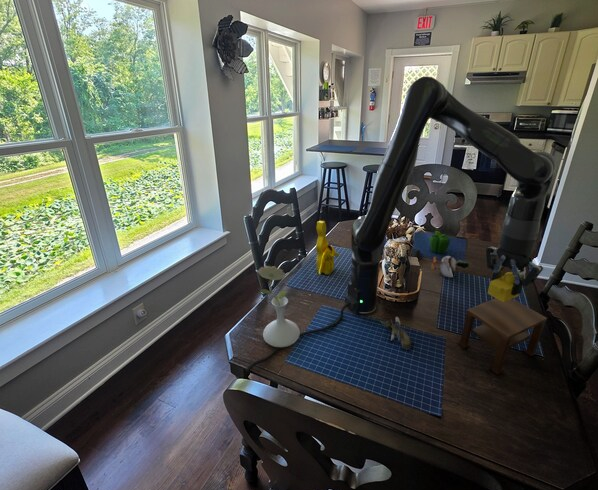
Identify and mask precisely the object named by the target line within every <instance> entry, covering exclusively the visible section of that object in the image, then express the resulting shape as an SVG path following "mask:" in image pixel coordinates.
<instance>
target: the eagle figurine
mask: <svg viewBox="0 0 598 490" xmlns="http://www.w3.org/2000/svg"><path fill="white" fill-rule="evenodd" d="M394 320H395V324H393V320H392V318H390V321H389V320H388V319H387V320H386V321H385V322H384V321H382V320H380V323H381V324H382V325H384V326H386V327H387V329H388V331H391V337H390V341H394V339H395V337H396V338H397V342H400V344H401V347H402V349H404V350H410V349H411V348H412V345H413V341H412V338H411V337H410V335H409V334H408V332H406V330H404V329H403V328H402V327H401V321H400V318H399V317H398V316H395V319H394Z"/></svg>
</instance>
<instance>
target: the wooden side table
mask: <svg viewBox="0 0 598 490" xmlns="http://www.w3.org/2000/svg"><path fill="white" fill-rule="evenodd" d="M474 320H477V321H479V322H480V323H482V324H481V325H479V326H477V327H474V328H473V326H474ZM547 320H548V317H546V316H545V315H542V314H540V313H539V312H537V311H535V310H533V309H532V308H530V307H528V306H526V305H524V304H523V303H521V302H519V301H517V300H515V299H514V298H512V299H510V300H508V301H506V302H502V301H500V300H498V299H496V298H495V297H494V298H493V299H490V300H488V301H485V302H482V303H480V304H478V305H475V306H473V307H470V308H468V309H466V315H465V317H464V323H463V327H462V330H461V336H460V341H459V344H458V345H459V346H460V347H461V348H462V349H465V348H467V347H469V343H470V339H471V334H473V335H474V336H476V337H477V338H479V339H480V340H482V341H483V342H484V343H485V344H486V345H488V346H490V347H491V348H492V349H494V350H495V351H496V354H495V356H494V360H493V363H492V367H491V372H493V373H494V374H495V375H499V374H501V373H502V370H503V367H504V364H505V361H506V357H507V354H508V350H509V349H511V348H513V347H515V346H517V345H519V344H520V343H522V342H525V341H527V340H528V339H529V341H528V344H527V347H526V350H525V354H527V355H528V356H530V357H533V356H534V355H536V351H537V348H538V346H539V343H540V340H541V338H542V335H543V331H544V330H545V326H546V323H547ZM531 329H532V331H531V334H530V333H529V332H527V331H529V330H531Z"/></svg>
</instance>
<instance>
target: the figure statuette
mask: <svg viewBox="0 0 598 490" xmlns="http://www.w3.org/2000/svg"><path fill="white" fill-rule="evenodd" d="M316 233H317V239H316V245H315V251H316V263H315V264H316V271H317V272H318V275H322V273H323V274H325V275H331V274H332V273H333V272H334V270H335V259H334V258H339V257H340V254H339V253H338V252H337V251H336V250H335V247H334V245H331V244H329V239H328V238H327V235H326V233H327V224H326V221H325V220H319V221H317V222H316Z"/></svg>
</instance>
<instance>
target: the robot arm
mask: <svg viewBox="0 0 598 490" xmlns="http://www.w3.org/2000/svg"><path fill="white" fill-rule="evenodd" d="M429 119H431V120H434V121H436V122H438V123H441V124H442V125H445V126H446V127H448V128H449V129H451V130H452V131H454V132H455V133H456V134H457V135H459V136H460V137H461V138H462V139H463V140H464V141H466V142H467V143H468V144H469V145H471V146H472V147H473V148H474V149H476V150H477V151H478V152H480V153H482V154H483V155H484V156H486V157H487V158H489V159H491V160H492V161H494V162H496V164H498V166H500V168H501V169H503V171H505V172H506V174H508V175H509V176H510V177H511V178H512V179H514V180H515V181H516V186H515V188H514V191H513V193H512V194H511V195H510V199H509V202H508V207H507V211H506V214H505V218H504V220H503V223H502V227H501V232H500V237H499V241H498V247H496V246H495V245H492V246H489V247H486V248H485V254H486V255H485V257H486V267H487V269H490V270H492V277H491V281H493V280H495V279H498V278H500V277H503V271H504V270H505V268H508V269H509V270H511V272H512V273H513V276H514V279H515V283H513V287H512V291H511V295H513V296H515V295H517V294H519V295H520V294H521V293H522V290H523V287H527V286H530V285H532V284H533V283H534V282H535V281H536V279H538V277H539V275H540V274H541V273H542V271H543V270H544V267H543V265H537V264H536V263H534V262H533V258H532V255H533V253H534V250H535V246H536V242H537V239H538V237H539V231H540V229H541V228H540V227H541V221H542V220H541V219H542V216H543V212H544V209H545V203H546V198H547V195H548V192H549V189H550V187H551V184H552V182H553V179H554V177H555V172H556V169H557V162H556V159H555V157H554V155H552V154H551V153H550V152H547V151H544V150H536V151H534V150H531V149H530V148H529V147H527V146H525V145H524V144H522V143H521V139H520V138H519V137H518V136H516V134H514V133H513V132H511V131H509V130H508V129H506V128H504V127H503V126H501V125H500V124H498V123H497V122H495V121H493V120H491V119H489V118H487V117H485V116H483V115H481V114H479V113H478V112H476V111H474V110H472V109H471V108H469V107H467V106H465V105H464V104H463V103H462V102H460V101H459V99H457V98H456V97H455V96H453V94H452V93H451V92H449V91H448V89H447V88H446V86H445V85H444V84H443V83H442V82H441V81H439V80H437V79H436V78H434V76H433V77H432V76H428V75H425V76H421V77H419V78H417V79H416V80H414V81H413V82H412V83H411V84H410V86H409V88H408V89H407V91H406V94H405V97H404V100H403V103H402V106H401V110H400V114H399V117H398V120H397V124H396V126H395V128H394V132H393V133H392V136H391V137H390V140H389V143H388V145H387V147H386V150H385V153H384V155H383V157H382V159H381V162H380V164H379V167H378V169H377V172H376V175H375V178H374V181H373V186H372V193H371V199H370V205H369V208H368V210H367V213H366V215H362V216H359V217H358V218H356V219H355V221H354V222H353V223H352V225H351V226H352V227H351V235H350V237H351V239H350V241H351V243H350V255H351V261H350V262H351V266H350V267H351V268H350V269H351V270H350V281H348V283H347V295H344V303H345V304H344V305H343V306H342V308H341V309H340V315H339V317H338V318H337V320H336V321H334V322H332V323H330V324H328V325H326V326H323V327H320V328H316V329H311V330H307V331H304V332H302V333H301V332H300V335H299V338H301V337H305V336H307V335H311V334H314V333H320V332H323V331H326V330H328V329H331V328H332V327H333V328H334V327H335V326H336V325H338V324H339V323H340V322H341V321H342V319H343V317H344V311H345V310H346V308H347V307H349V309H350V310H352V312H353V313H354V314H356V315H369V314H372V313H374V312H375V311H376V310H377V297H378V289H379V288H378V287H379V277H380V276H379V275H380V264H381V258H380V255H379V247H380V246H381V245H382V243H383V241H384V240H386V239H385V238H386V236H387V232H388V229H389V226H390V224H391V220H392V217H393V215H394V212H395V210H396V208H397V206H398V204H399V202H400V200H401V198H402V195H403V193H404V191H405V189H406V187H407V185H408V183H409V181H410V178H411V176H412V173H413V172H414V169H415V166H416V162H417V159H418V152H419V146H420V141H421V137H422V135H423V132H424V129H425V127H426V125H427V123H428V122H429ZM497 257H498V258H497ZM497 259H498V260H497ZM526 267H528V274H527V275H526V273H527V268H526ZM280 349H281V348H280V347H275V349H273V351H272V352H270V353H269V354H268V355H266V356H265V357H263V358H260V359H257V360H255V361H253V362H252V363H251V364H250V365H248V366H247V369H246V370H245V372H246V373H249V372H250V371H251V370H252V369H253V368H254V367H255V366H256V365H258V364H261V363H264V362H267V361H268V360H269V359H271V358H272V357H273V356H274V355H275V354H276V353H277V352H278V351H280Z"/></svg>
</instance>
